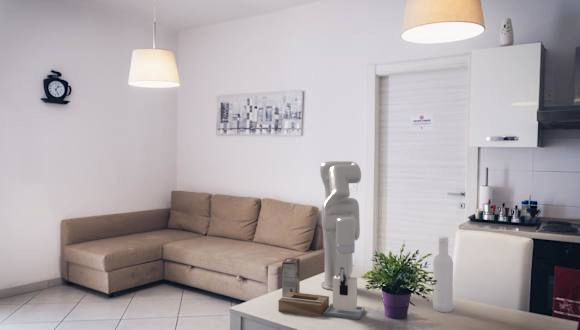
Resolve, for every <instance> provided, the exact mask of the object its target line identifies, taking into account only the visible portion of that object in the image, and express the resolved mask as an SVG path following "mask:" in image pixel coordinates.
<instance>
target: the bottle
mask: <svg viewBox="0 0 580 330" xmlns="http://www.w3.org/2000/svg"><path fill="white" fill-rule="evenodd" d="M432 263H433V270H432V271H433V276H432V277H433V279H432V281H433V280H437V281H438V282H436V283H437V284H436V285H434V286H433V285H432V290H433V289H437V291H434V292H433V291H432V309H433V310H434V311H436V312H440V313H451V312H452V311H453V307H454V304H453V302H454V301H453V297H454V296H453V293H454V291H453V290H454V289H453V286H454V285H453V283H454V278H453V277H454V261H453V259H452V256H450V255H449V237H448V236H443V235H442V236H439V237H438V254H437V255H436V256H435V257H434V259H433V262H432ZM438 290H440V291H438Z"/></svg>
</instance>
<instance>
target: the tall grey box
mask: <svg viewBox="0 0 580 330" xmlns="http://www.w3.org/2000/svg"><path fill="white" fill-rule="evenodd" d="M300 264H301V263H300V258H298V257H297V258H296V257H295V258H293V257H286V258H285V259H284V260H283V261H282V264H281V265H282V266H281V267H282V270H281V272H282V273H281V276H282V277H281V278H282V279H281V282H282V286H281V287H282V291H281V292H282V297H283V296H284V295H285V294H287V293H288V292H295V293H301V290H300V287H301V285H300V280H301V278H300V277H301V276H300V273H301V272H300V267H301V266H300ZM282 297H281V298H282Z"/></svg>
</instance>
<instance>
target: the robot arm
mask: <svg viewBox="0 0 580 330" xmlns="http://www.w3.org/2000/svg"><path fill="white" fill-rule="evenodd" d="M319 167H320V168H319V170H320V171H319V172H320V177H321V180H322V184H323V186H324V193H325V198H324V199H325V200H324V202H323V204H322V205H321V227H322V234H323V243H324V244H323V245H324V281H322V282H321V283H320V285H321V288H323V289H326V290H328V291H330V290H331V291H333V277H334V276H336V277H337V278H338V277H339V276H340V295H346V296H347V295H348V285H347V278H348V277H351V275H352V273H353V266H354V265H353V254H354V253H355V251H356V249H355V243H356V241H358V240H359V239H360V234H361V230H360V228H361V226H360V223H361V222H360V206H359V205H360V204H359V202H358V200H357V199H356V198H355V197H350V195H351V194H350V185H349V184H359V183H360V182H361V179H362V171H361V167H360V165H358V163H357V162H355V161H349V160H348V161H347V160H345V161H344V160H343V161H337V160H336V161H335V160H332V161H331V160H330V161H324V162H322V163H321V164H320V166H319ZM344 276H346V277H344ZM344 279H345V280H344Z"/></svg>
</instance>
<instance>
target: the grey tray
mask: <svg viewBox="0 0 580 330" xmlns="http://www.w3.org/2000/svg"><path fill="white" fill-rule="evenodd" d="M365 309H366V307H365V306H359V305H357V308H356V309H355V310H350V309H341V308H333V302H331V304H330V303H329V307H328V308H327V309H326V311H325V312H324V313H323V314H324V315H325V316H326V317H333V318H344V319H351V320H357V321H358V320H359V321H360V319H361V318H362V316H363V315H364V313H365V311H366V310H365Z"/></svg>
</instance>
